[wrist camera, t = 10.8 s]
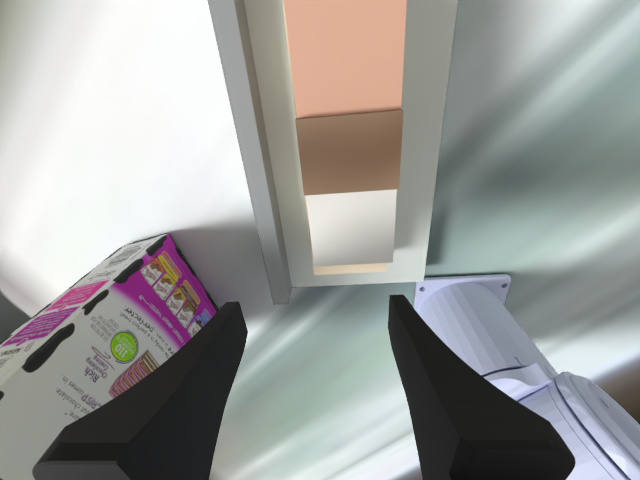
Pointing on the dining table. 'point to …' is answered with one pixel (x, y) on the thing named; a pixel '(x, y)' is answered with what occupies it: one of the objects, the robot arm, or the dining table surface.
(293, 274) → the dock
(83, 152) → the dining table surface
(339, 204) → the white cube
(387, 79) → the salmon pink cube
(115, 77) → the dining table surface
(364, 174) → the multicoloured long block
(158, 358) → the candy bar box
